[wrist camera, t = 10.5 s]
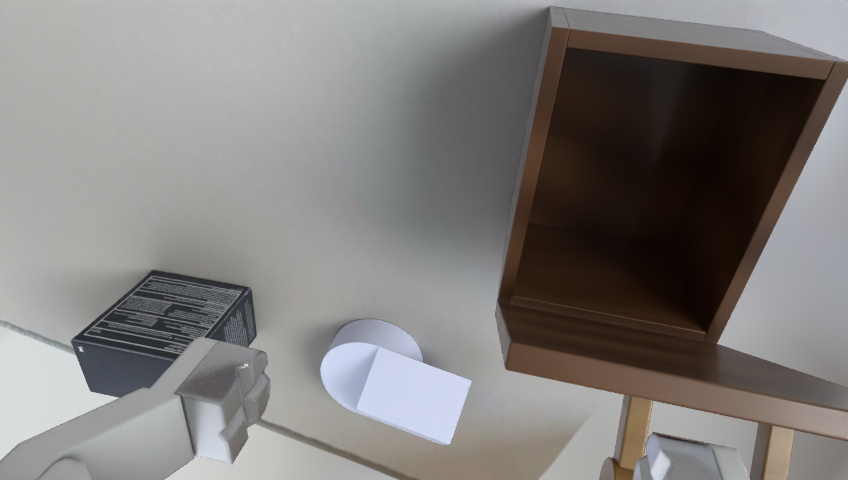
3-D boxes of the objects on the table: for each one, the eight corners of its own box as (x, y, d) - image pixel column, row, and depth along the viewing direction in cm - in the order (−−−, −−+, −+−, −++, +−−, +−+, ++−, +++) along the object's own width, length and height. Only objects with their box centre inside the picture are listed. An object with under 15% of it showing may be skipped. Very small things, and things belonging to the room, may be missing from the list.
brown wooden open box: (549, 5, 32) (552, 26, 23) (761, 30, 31) (855, 63, 21) (507, 223, 40) (496, 303, 31) (674, 252, 39) (716, 346, 29)
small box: (163, 320, 53) (86, 395, 44) (151, 268, 50) (65, 336, 41) (258, 339, 52) (199, 420, 43) (252, 286, 49) (186, 362, 40)
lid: (509, 341, 14) (477, 521, 14) (1019, 444, 13) (989, 648, 12) (497, 301, 31) (482, 385, 30) (719, 344, 29) (704, 433, 29)
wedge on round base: (476, 354, 47) (343, 305, 47) (466, 410, 41) (316, 354, 42) (446, 417, 52) (325, 371, 52) (434, 474, 46) (298, 423, 46)
